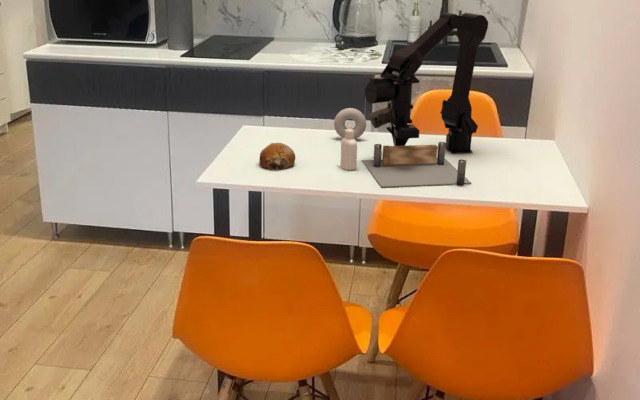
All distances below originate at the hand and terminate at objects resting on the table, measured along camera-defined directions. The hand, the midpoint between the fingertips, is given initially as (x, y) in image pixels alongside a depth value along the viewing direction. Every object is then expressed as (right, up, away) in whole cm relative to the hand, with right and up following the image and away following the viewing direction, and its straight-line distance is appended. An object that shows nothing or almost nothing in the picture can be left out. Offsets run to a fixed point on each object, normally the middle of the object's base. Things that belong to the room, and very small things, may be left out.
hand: (397, 154), depth 202 cm
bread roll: (-34, -4, -4) cm, 34 cm away
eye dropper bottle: (-14, -4, -5) cm, 16 cm away
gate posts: (+4, -6, -11) cm, 13 cm away
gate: (+3, -3, -4) cm, 6 cm away
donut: (-13, +6, +20) cm, 25 cm away
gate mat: (+4, -5, -8) cm, 10 cm away
